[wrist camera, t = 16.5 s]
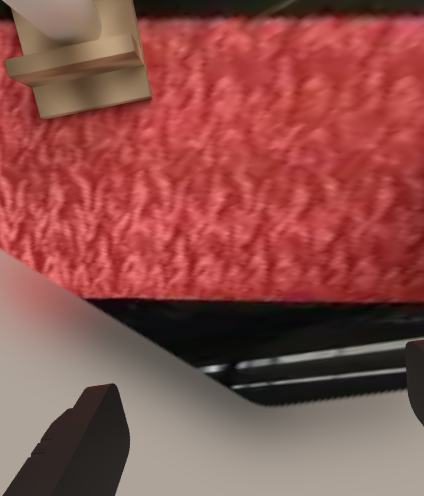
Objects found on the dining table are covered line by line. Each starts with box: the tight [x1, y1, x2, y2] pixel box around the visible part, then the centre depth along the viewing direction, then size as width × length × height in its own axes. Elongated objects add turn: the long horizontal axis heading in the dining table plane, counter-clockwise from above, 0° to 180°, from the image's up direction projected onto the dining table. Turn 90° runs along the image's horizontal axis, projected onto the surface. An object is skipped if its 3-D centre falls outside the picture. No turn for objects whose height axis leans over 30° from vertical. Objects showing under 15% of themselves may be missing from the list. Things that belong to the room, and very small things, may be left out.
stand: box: [4, 0, 152, 119], centre depth 32 cm, size 12×16×5 cm
